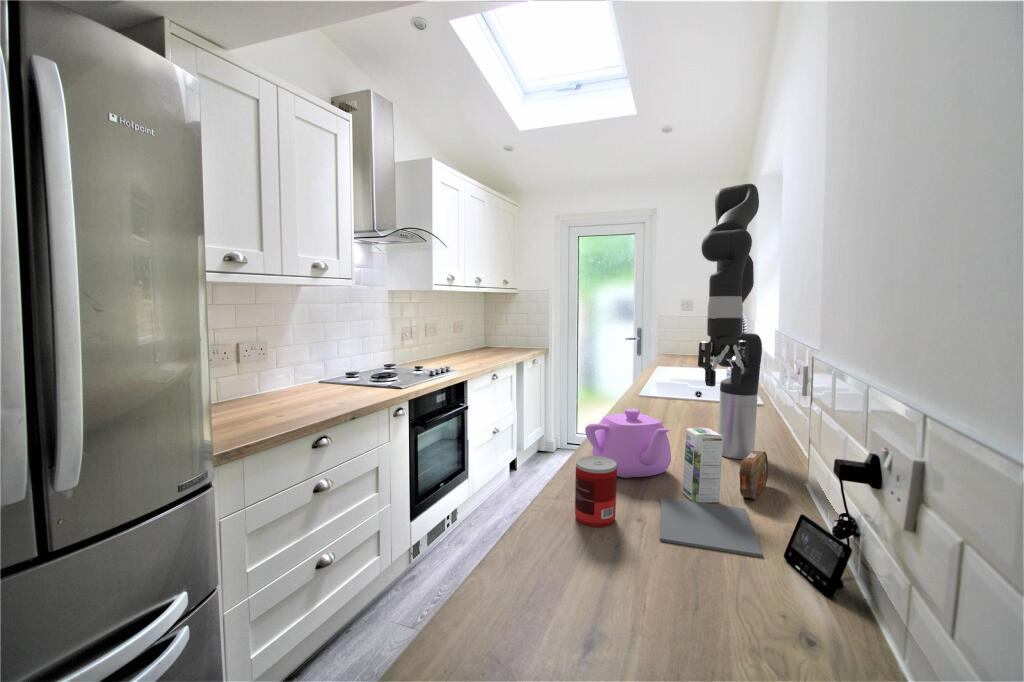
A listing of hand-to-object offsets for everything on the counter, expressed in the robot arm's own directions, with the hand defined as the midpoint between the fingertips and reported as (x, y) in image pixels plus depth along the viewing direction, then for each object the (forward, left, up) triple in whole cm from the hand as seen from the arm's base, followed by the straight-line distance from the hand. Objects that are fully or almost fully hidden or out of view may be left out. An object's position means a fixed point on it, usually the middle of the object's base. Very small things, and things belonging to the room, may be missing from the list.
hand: (723, 385), depth 111 cm
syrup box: (+15, -5, -22) cm, 27 cm away
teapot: (+3, -20, -22) cm, 30 cm away
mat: (+28, -5, -22) cm, 36 cm away
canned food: (+32, -25, -22) cm, 46 cm away
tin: (+8, +6, -22) cm, 24 cm away
